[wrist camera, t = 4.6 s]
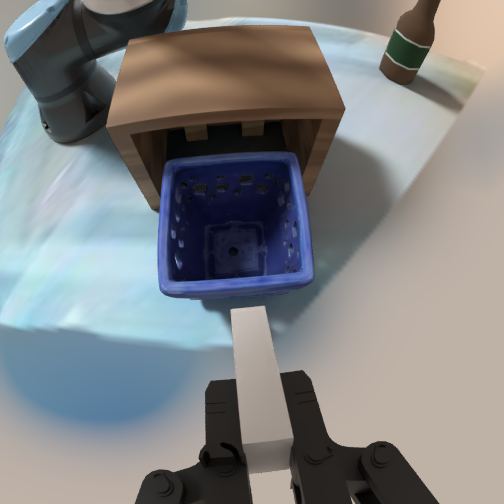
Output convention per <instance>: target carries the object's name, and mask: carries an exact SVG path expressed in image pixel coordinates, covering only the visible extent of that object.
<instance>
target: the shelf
mask: <svg viewBox="0 0 504 504" xmlns="http://www.w3.org/2000/svg"><path fill="white" fill-rule="evenodd" d="M344 111H345V106H344V104H343V101H342V98H341V96H340V94H339V91H338V89H337V86H336V84H335V81H334V79H333V77H332V74H331V72H330V70H329V67H328V65H327V63H326V61H325V58H324V56H323V54H322V52H321V50H320V48H319V46H318V43H317V41H316V39H315V37H314V35H313V33H312V31H311V29H310V27H307V26H288V25H242V26H222V27H209V28H199V29H190V30H182V31H175V32H168V33H162V34H156V35H151V36H145V37H140V38H135V39H131V40H129V42H128V45H127V48H126V52H125V55H124V58H123V61H122V65H121V68H120V71H119V75H118V79H117V82H116V86H115V90H114V94H113V98H112V102H111V106H110V110H109V115H108V119H107V124H106V129H107V131H108V133H109V135H110V137H111V139H112V140H113V142H114V144H115V146H116V148H117V150H118V151H119V153H120V155H121V157H122V159H123V160H124V162H125V164H126V166H127V167H128V169H129V171H130V173H131V175H132V176H133V178H134V180H135V181H136V183H137V185H138V187H139V188H140V190H141V192H142V194H143V195H144V197H145V199H146V200H147V202H148V204H149V205H150V207H151V209H152V210H153V209H160V201H161V188H162V178H163V171H164V166H165V163H166V154H167V133H168V131H172V130H180V129H184V130H185V134H186V139H187V141H195V140H204V139H208V134H207V126H217V125H229V124H241V129H242V136H255V135H263V130H264V122H281V126H282V131H283V135H284V140H285V145H286V150H287V152H292V153H295V154H296V156H297V159H298V162H299V166H300V170H301V175H302V180H303V185H304V190H305V195H306V196H309V194H310V192H311V190H312V187H313V185H314V183H315V180H316V178H317V176H318V173H319V171H320V169H321V166H322V164H323V162H324V159H325V157H326V155H327V152H328V150H329V147H330V145H331V143H332V140H333V138H334V136H335V133H336V131H337V128H338V126H339V123H340V121H341V119H342V116H343V114H344Z"/></svg>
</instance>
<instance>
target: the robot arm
mask: <svg viewBox="0 0 504 504" xmlns="http://www.w3.org/2000/svg"><path fill="white" fill-rule="evenodd" d="M187 8H188V4H187V0H40V1H38V2H37V3H36V4H34V5H33V6H32V7H30V8H29V9H28V10H27V11H25V12H24V13H23V14H22V15H21V16H20V17H19V18H18V19H17V20H16V21H15V22H14V23H13V24H12V26H11V27H10V28H9V30H8V31H7V33H6V35H5V37H4V42H3V44H4V48H5V50H6V52H7V55H8V57H9V59H10V62H11V63H12V64H13V65H14V67H15V69H16V70H17V72H18V73H19V75H20V76H21V78H22V79H23V81H24V83H25V84H26V86H27V87H28V89H29V90H30V92H31V93H32V94H33V96H34V98H35V99H36V101H37V103H38V108H39V113H40V117H41V122H42V126H43V128H44V130H45V132H46V133H47V134H48V136H49V137H50V138H51V139H52V140H54V141H56V142H60V143H68V142H73V141H76V140H79V139H82V138H84V137H86V136H88V135H90V134H91V133H93V132H94V131H96V130H97V129H99V128H100V127H101V126H102V125H103V124H105V123H106V122H107V119H108V115H109V110H110V106H111V102H112V98H113V94H114V90H115V86H116V81H115V79H114V78H113V77H112V76H111V75H110V74H109V73H108V72H107V71H106V70H105V69H104V68H103V67H102V66H101V65H100V64H99V63H98V62H97V61H96V59H97V58H100V57H103V56H105V55H108V54H111V53H114V52H117V51H120V50H123V49H126V48H127V45H128V42H129V40H131V39H135V38H140V37H145V36H151V35H156V34H162V33H168V32H175V31H181V30H182V29H183V28H184V26H185V23H186V18H187ZM231 322H232V335H233V348H234V359H235V372H236V379H230V380H216V381H210V383H209V385H208V387H207V389H206V391H205V405H206V406H205V413H206V415H205V420H206V421H205V424H206V425H205V428H206V445H204V447H203V448H202V449H201V451H200V454H199V460H200V462H198V463H197V464H196V465H194V466H192V467H190V468H187V469H183V470H180V471H177V472H171V471H169V470H160V469H159V470H156V471H152V472H151V473H149V474H148V475H147V476H146V477H145V479H144V480H143V482H142V485H141V488H140V490H139V493H138V496H137V499H136V502H135V504H253V502H252V494H251V487H250V480H249V474H252V473H262V472H270V471H278V470H285V469H289V468H290V470H291V475H292V479H291V488H290V489H293V493H294V498H295V504H352V501H351V497H352V499H353V501H354V502H355V504H439V503H438V501H437V500H436V499H435V497H434V496H433V495H432V493H431V492H430V491H429V490H428V488H427V487H426V486H425V484H424V483H423V482H422V481H421V479H420V478H419V476H418V475H417V474H416V472H415V471H414V470H413V469H412V467H411V466H410V465H409V463H408V462H407V461H406V459H405V458H404V457H403V455H402V454H401V453H400V451H399V450H398V449H397V448H396V447H395V446H394V445H393V444H391V443H388V442H386V441H378V442H375V443H372V444H370V445H369V446H367V447H366V448H358V447H357V448H356V447H345V446H341V445H338V444H337V443H335V442H334V441H332V440H331V438H330V437H329V436H328V433H327V431H326V427H325V424H324V421H323V417H322V414H321V411H320V408H319V404H318V402H317V398H316V395H315V392H314V388H313V385H312V381H311V379H310V378H309V377H308V376H307V374H305V372H304V371H303V370H301V371H293V372H286V373H279V369H278V364H277V360H276V355H275V351H274V347H273V342H272V337H271V333H270V328H269V324H268V319H267V315H266V310H265V306H257V307H247V308H237V309H231ZM350 496H351V497H350Z"/></svg>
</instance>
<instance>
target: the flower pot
mask: <svg viewBox="0 0 504 504" xmlns="http://www.w3.org/2000/svg"><path fill="white" fill-rule="evenodd" d="M269 174H270V175H269ZM219 175H222V176H220V177H219ZM247 175H251V176H252V180H250V181H240V177H241V176H247ZM181 183H187V184H181ZM199 184H206V191H199V190H194V189H193V187H194V185H199ZM219 184H227V186H226V187H225V188H217V185H219ZM259 185H264V186H266V189H265V190H260V189H257V187H258V186H259ZM236 190H240V191H236ZM175 192H176V198H175ZM210 195H214V196H210ZM283 195H284V200H285V201H284V203H283ZM188 196H190V197H188ZM297 228H298V232H297ZM293 249H294V251H293ZM175 257H176V259H175ZM176 260H177V263H176ZM158 280H159V288H160V291H161V292H162V293H163V294H164V295H166V296H169V297H174V298H189V299H191V300H210V299H233V298H249V297H260V296H271V295H280V294H286V293H288V292H289V291H290V290H296V289H300V288H303V287H305V286H307V285H309V284H310V283H312V282H313V280H314V260H313V250H312V239H311V230H310V221H309V213H308V207H307V201H306V195H305V190H304V185H303V180H302V175H301V170H300V166H299V162H298V159H297V156H296V154H295V153H292V152H240V153H229V154H217V155H206V156H195V157H185V158H177V159H172V160H169V161H167V162H166V163H165V166H164V171H163V178H162V188H161V201H160V213H159V227H158Z"/></svg>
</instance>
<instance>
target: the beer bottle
mask: <svg viewBox="0 0 504 504" xmlns="http://www.w3.org/2000/svg"><path fill="white" fill-rule="evenodd" d="M440 1H441V0H418V2H417V4H416V6H415V7H414V8H413V9H412V10H410V11H408V12H405V13H404V14H403V15H402V16H401V17H400V19H399V20H398V22H397V24H396V27H395V29H394V32H393V34H392V36H391V39H390V41H389V43H388V46H387V48H386V50H385V53H384V55H383V58H382V61H381V64H380V70H381V71H382V73H383V74H384V75H385V76H386V77H387V78H388V79H390V80H392V81H394V82H396V83H398V84H410V83H411V82H412V80H413V79H414V77H415V75H416V74H417V72H418V70H419V68H420V66H421V65H422V63H423V61H424V59H425V57H426V55H427V54H428V52H429V50H430V48H431V46H432V44H433V41H434V35H435V30H434V23H433V20H434V16H435V13H436V11H437V8H438V6H439V3H440Z"/></svg>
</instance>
